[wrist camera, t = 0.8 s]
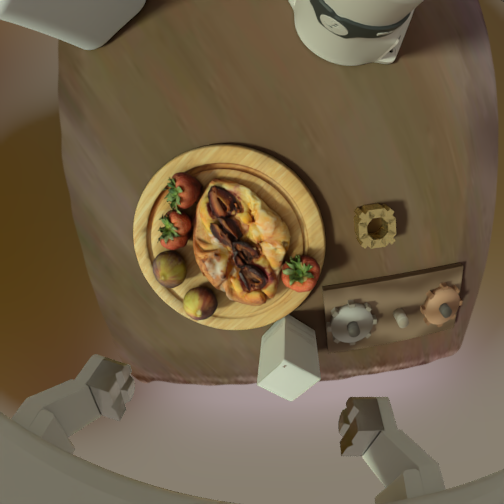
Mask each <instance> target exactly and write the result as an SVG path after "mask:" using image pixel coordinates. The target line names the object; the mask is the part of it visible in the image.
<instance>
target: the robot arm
mask: <svg viewBox="0 0 504 504" xmlns="http://www.w3.org/2000/svg"><path fill="white" fill-rule="evenodd" d="M288 1H289V3H290V5H291V6H292V8H293V10H294V18H295V27H296V30H297V33H298V35H299V37H300V39H301V40H302V41H303V43H304V44H305V45H306V46H307V47H308V48H309V49H310V50H311V51H312V52H313V53H315V54H316V55H318V56H319V57H321V58H323V59H325V60H327V61H330V62H332V63H336V64H340V65H347V66H355V65H362V64H366V63H370V62H376V63H381V64H391V63H393V61H394V60H395V58H396V56H397V54H398V51H399V49H400V46H401V44H402V41H403V38H404V36H405V33H406V31H407V28H408V26H409V23H410V20H411V18H412V15H413V12H414V10H415V8H416V7H417V6H418V5H419V4H420V3H422V2H423V1H424V0H288ZM502 1H503V2H504V0H502ZM390 50H391V51H392V53H390V52H389V51H390ZM131 372H132V371H131V367H130V365H128V364H125V363H122V362H118V361H115V360H112V359H109V358H106V357H103V356H100V355H97V354H95V355H93V356H92V357H91V358H90V359H89V361H88V362H87V364H86V365H85V366H84V368H83V369H82V370H81V372H80V373H79V374H78V376H77V377H76V379H75V380H72V379H71V380H69V381H66V382H64V383H62V384H59V385H57V386H55V387H52V388H50V389H48V390H45V391H43V392H41V393H38V394H36V395H33V396H31V397H28V398H27V399H26V400H25V401H24V402H23V404H22V405H21V406H20V408H19V409H18V410H17V412H16V413H15V414H14V416H13V417H12V419H10V418H9V417H7V416H6V415H4V414H3V413H2V412H0V504H238V503H231V502H224V501H218V500H212V499H207V498H202V497H197V496H192V495H187V494H183V493H179V492H175V491H171V490H168V489H164V488H160V487H157V486H153V485H150V484H147V483H144V482H141V481H137V480H134V479H132V478H128V477H126V476H123V475H120V474H117V473H115V472H112V471H109V470H107V469H105V468H102V467H100V466H98V465H95V464H93V463H91V462H88V461H86V460H84V459H82V458H79V457H77V456H75V455H73V452H74V450H75V448H74V445H73V444H72V442H71V441H70V439H69V438H68V437H70V436H71V435H73V434H74V433H76V432H78V431H79V430H81V429H82V428H84V427H85V426H87V425H89V424H90V423H91V422H93V421H95V420H96V419H97V418H99V417H101V415H102V416H105V417H108V418H111V419H114V420H117V421H120V420H121V418H122V416H123V414H124V412H125V410H126V407H125V404H126V403H127V402H129V401H131V399H132V396H133V394H134V389H135V383H134V379H133V378H132V377H131V376H130V374H131ZM346 407H347V408H345V409H344V410H342V412H341V415H340V418H339V423H338V429H339V433H340V435H341V436H342V437H343V438H342V439H341V441H340V448H341V456H362V458H363V459H364V460H365V461H366V463H367V464H368V466H369V467H370V468H371V469H372V471H373V472H374V473H375V475H376V476H377V477H378V479H379V480H380V481H381V482H382V484H383V485H384V486H385V489H384V490H383V491H382V492H381V493H379V494H378V495H377V496H376V497H375V504H504V469H503V470H500V471H498V472H496V473H493V474H490V475H488V476H485V477H483V478H480V479H477V480H474V481H471V482H468V483H465V484H463V485H459V486H456V487H453V488H449V489H446V490H445V486H444V482H443V478H442V475H441V471H440V467H439V464H438V463H437V462H436V461H435V460H434V459H433V458H432V457H431V456H430V455H429V454H427V453H426V452H425V451H424V450H423V449H422V448H421V447H420V446H419V445H417V444H416V443H415V442H414V441H413V440H412V439H411V438H410V437H409V436H408V435H406V434H405V433H404V432H403V431H402V430H398V429H397V425H396V421H395V418H394V414H393V411H392V407H391V404H390V400H389V398H388V397H350V398H349V399H348V400H347V402H346Z"/></svg>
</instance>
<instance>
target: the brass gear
mask: <svg viewBox="0 0 504 504" xmlns="http://www.w3.org/2000/svg"><path fill="white" fill-rule="evenodd" d="M354 212H355V213H356V215H355V216H354V227H355V233H356V235H357V236H358V237H357V238H356V239H357V240H358V242H359V243H360V245H361V246H362V247H363V248H366V247H367V246H368V247H370V248H371V249H372V248H379V247H385V246H387V245H388V244H389V242H390V243H391V244H393V243H394V242H395V239H394V238H393V237H394V236H395V235H396V218H395V217H394V216H393V213H394V211H393V210H392V209H391V208H389V207H388V206H387V205H385V204H383V205H382V206H381V205H380V204H378V203H376V204H369V205H363V206H362V207H361V209H359V208H358V207H357V208H356V209H355V211H354ZM380 217H382V226H381V228H380V229H379V230H378V231H377V232H374V233H368V232H367V225H368V224H369V223H370V221H371V220H372V219H373V218H380Z"/></svg>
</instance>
